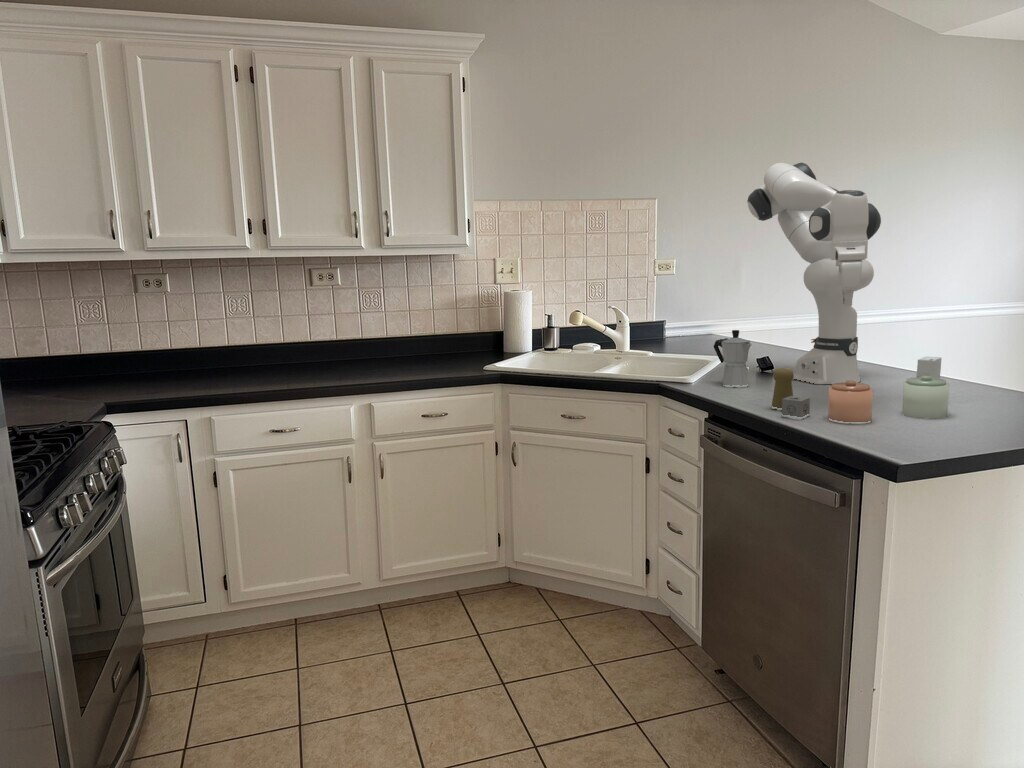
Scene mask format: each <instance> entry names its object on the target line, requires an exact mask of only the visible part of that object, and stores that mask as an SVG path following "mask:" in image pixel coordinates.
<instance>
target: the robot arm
mask: <svg viewBox="0 0 1024 768" xmlns="http://www.w3.org/2000/svg"><path fill="white" fill-rule="evenodd" d="M746 203H747V207H748V210H749V212H750V213H751V214H752V216H753V217H754V218H756V219H757V220H759V221H762V222H764V221H767V220H770V219H772V218H774V216H776V215H777V221H778V224H779V226H780V228H781V230H782V232H783V233H784V235H785V237H786V239H787V241H789V243H790V244H791V245H792V247H793V249H795V251H796V252H797V253H798V254H799V256H800V257H801V258H802V260H804V261H805V262H807V263H809V265H808V266H807V267H806V269H805V270H804V272H803V282H804V286H805V287H806V289H807V290H808V291H809V292H810V293H811V295H812V296H813V298H814V301H815V304H816V308H817V315H818V336H817V337H816V338H811V339H810V343H811V344H813V343H814V344H813V347H812V348H811V349H810V350H809V351H807V352H806V353H805V354H804V355H802V356H800V357H799V358H798V359H797V361H796V363H795V366H794V367H795V368H794V372H793V374H794V377H793V380H794V379H797V380H796V381H799V380H801V381H800V382H804V381H806V382H805V383H809V382H810V384H813V383H814V385H832V384H834V383H842V382H846V381H856V383H861V375H860V373H859V366H858V358H857V357H858V356H857V353H858V349H859V342H858V341H859V338H858V336H857V329H858V328H857V327H858V312H857V310H856V309H855V308H854V307H853V298H854V292H857V291H859V290H862V289H864V288H867V287H868V286H869V285H870V284H871V283H872V281H873V278H874V275H875V274H874V271H875V270H874V267H873V265H872V263H871V262H870V261H868V260H867V259H868V245H869V240H870V239H871V238H873V236H874V235H875V234H876V233H877V232H878V231H879V229H880V228H881V225H882V217H881V213H880V212H879V211H878V209H877V207H875V206H874V205H873V203H870V202H869V201H868V196H867V193H866V192H864V191H862V190H857V189H856V190H853V189H852V190H851V189H848V190H846V189H845V190H843V189H842V190H838V189H836V188H834V187H831V186H829V185H827V184H825V183H823V182H821V181H818V180H817V177H816V173H815V172H814V170H813V168H811V166H809V165H808V164H807V163H804V162H799V163H795V164H793V165H792V164H790V163H786V162H778V163H777V162H776V163H774V164H772V165H771V166H770V167H769V168H768V169H767V170H766V172H765V174H764V177H763V184H762V185H761V186H759V187H758V188H756V189H754V190H753V191H752V192H751V193H750V194H749V195H748V197H747V202H746Z"/></svg>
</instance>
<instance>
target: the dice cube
mask: <svg viewBox="0 0 1024 768" xmlns="http://www.w3.org/2000/svg"><path fill="white" fill-rule="evenodd" d="M810 402H811V398H810V397H804V396H795V395H793V396H789V397H786V398H784V399H782V411H781V415H782V414H783V415H790V416H797V417H803V416H805V415H807V414H809V415H810V409H811V408H810V404H811V403H810Z"/></svg>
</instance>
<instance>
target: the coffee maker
mask: <svg viewBox="0 0 1024 768" xmlns="http://www.w3.org/2000/svg"><path fill="white" fill-rule="evenodd" d="M731 333H732V337H731V338H726V337H725V338H720V339H716V340H715V341H714V344H713V349H714V351H715V353H716V355H717V357H718V360H719V362H720V363H721V364H722V363H725V365H724V370H723V376H722V380H721V381H722V383H723V385H730V386H732V385H740V386H742V385H747V384H749V383H750V382H749V377H748V370H747V364H746V362H747V361H748V358H749V357H748V356H749V353H750V352H749V350H750V349H751V346H753V344H752V343H751V340H749V339H745V338H742V337H739V335H740V330H738V329H733V330H731ZM719 347H720V348H721V349H722V352H721V350H720V348H719ZM722 383H721V384H722ZM749 385H750V384H749Z"/></svg>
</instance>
